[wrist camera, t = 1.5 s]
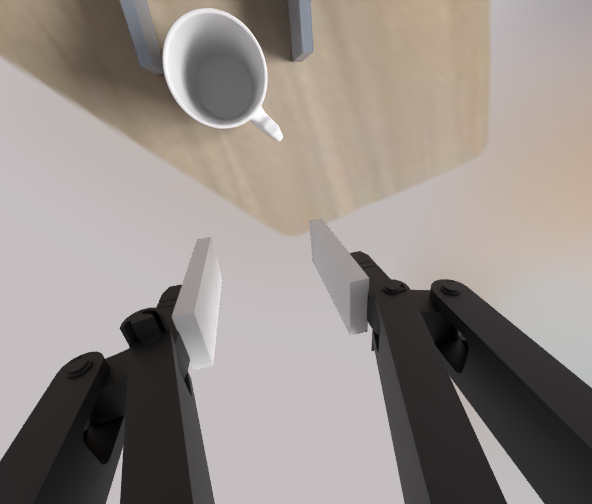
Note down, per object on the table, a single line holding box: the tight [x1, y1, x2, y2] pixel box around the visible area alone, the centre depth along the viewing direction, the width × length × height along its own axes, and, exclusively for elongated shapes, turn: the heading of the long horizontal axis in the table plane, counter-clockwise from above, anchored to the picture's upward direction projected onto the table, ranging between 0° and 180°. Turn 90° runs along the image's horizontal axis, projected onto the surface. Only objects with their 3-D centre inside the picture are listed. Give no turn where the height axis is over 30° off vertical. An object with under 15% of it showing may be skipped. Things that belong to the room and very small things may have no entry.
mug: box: [163, 8, 283, 142], centre depth 24 cm, size 10×7×12 cm, turn 46°
